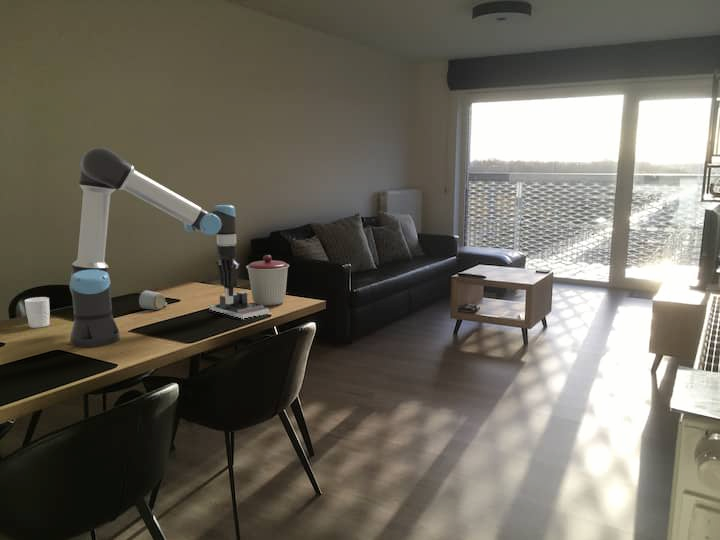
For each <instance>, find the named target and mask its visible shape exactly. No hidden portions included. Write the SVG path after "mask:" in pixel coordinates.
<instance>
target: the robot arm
mask: <svg viewBox="0 0 720 540" xmlns="http://www.w3.org/2000/svg"><path fill="white" fill-rule="evenodd" d="M79 171H80V172H79V180H78V182H79V183H78V185H79V187H80V188H81V189H82V192H83V193H82V204H81V205H82V206H81V214H80V215H81V216H80V229H79V238H78V249H77V250H78V251H77V259H76V260H75V261H73V262H72V264H71V274H70V279H69V284H68V286H69V287H68V288H69V291H70V293H71V298H72V308H73V319H74V320H73V321H74V322H73V324H72V328H71V329H72V330H71V334H70V336H69V339H70V340H69V341H70V345H72V346H73V347H78V348H93V347H101V346H107V345H110V344H114V343H116V342H117V341H119V340H120V339H121V334H120V330H119V327H118V325H117V323H116V321H115V318H114V317H113V308H112V307H113V306H112V305H113V304H112V292H111V278H110V274H109V265H108V264H107V263H106V262H105V259H106V258H105V257H106V245H107V236H108V225H109V214H110V213H109V212H110V202H111V195H112V194H113V192H115V191H116V190H118V191H122V190H124V191H126V192H127V193H128V194H131V195H133V196H135V197H137V198H138V199H141V200H142V201H144V202H146V203H148V204H150V205H152V206H154V207H156V208H157V209H159V210H161V211H163V212H164V213H166V214H168V215H170V216H172V217H173V218H175V219H177V220H179V221H181V222H183V227H184V230H185V231H186V232H193V233H195V232H200V233H203V234H204V235H206V236H213V235H216V244H217V246H216V250H217V252H216V253H217V256H219V260H216V261H215V264H216V267H217V271H218V277H219V283H220V285H221V286H223V288H224V294H225V301H226V304H233V295H234V294H233V293H234V288H235V287H237V286H238V279H239V270H240V266H241V264H240V263H238V262H237V259H236V255H238V248H237V247H238V246H237V219H236V218H237V217H236V207H235V206H234V205H232V204H220V205H219V204H217V205H215V207H214V210H206V209H204V208H202V207H200V206H199V205H197V204H195V203H193V202H192V201H191V200H188V199H187V198H185V197H183V196H181V195H180V194H178V193H176V192H174V191H173V190H171V189H169V188H167V187H166V186H164V185H162V184H160V183H159V182H157V181H155V180H153V179H151V178H150V177H148V176H146V175H145V174H143V173H141V172H139V171H138V170H136V169H135V167H134V165H133V164H132V163H130V162H129V161H127V160H125V159H123V158H122V157H120V156H119V155H118V154H116V153H115V152H114V151H113V150H110V148H106V147H103V146H102V147H93V148H91V149H88V150H86V151H85V152H84V153H83V154H82V156H81V158H80V160H79Z"/></svg>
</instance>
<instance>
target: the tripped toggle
mask: <svg viewBox="0 0 720 540" xmlns="http://www.w3.org/2000/svg"><path fill="white" fill-rule="evenodd" d="M219 303H220V307H223V308H230V307H231V304H226V301H225V293H223V294H220V295H219Z"/></svg>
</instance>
